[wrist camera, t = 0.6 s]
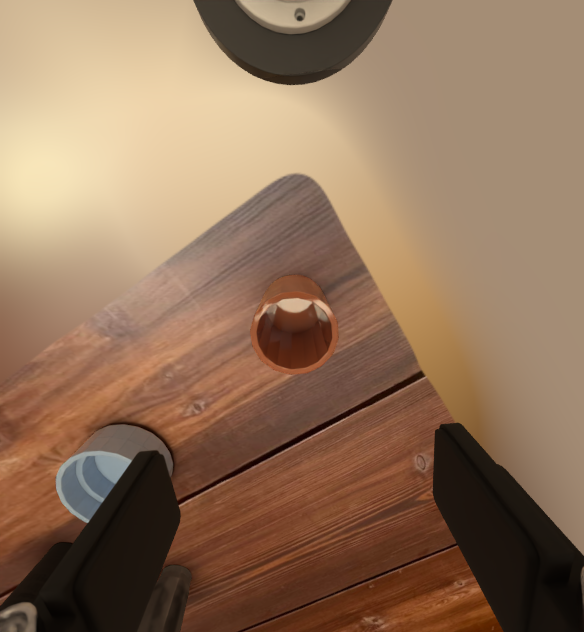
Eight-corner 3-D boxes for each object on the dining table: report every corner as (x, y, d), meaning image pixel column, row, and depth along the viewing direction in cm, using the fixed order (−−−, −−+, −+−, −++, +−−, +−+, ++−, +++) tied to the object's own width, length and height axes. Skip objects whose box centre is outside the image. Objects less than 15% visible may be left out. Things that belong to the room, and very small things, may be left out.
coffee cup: (258, 277, 30) (244, 296, 21) (323, 271, 29) (335, 287, 21) (267, 338, 32) (257, 378, 23) (327, 332, 31) (340, 370, 23)
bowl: (75, 425, 35) (40, 455, 30) (163, 417, 35) (142, 447, 30) (102, 494, 38) (74, 532, 33) (183, 488, 38) (167, 525, 33)
